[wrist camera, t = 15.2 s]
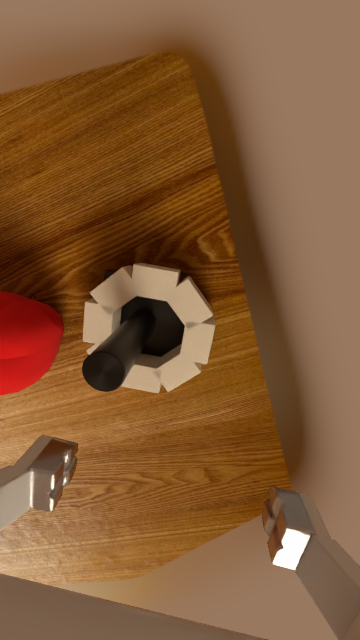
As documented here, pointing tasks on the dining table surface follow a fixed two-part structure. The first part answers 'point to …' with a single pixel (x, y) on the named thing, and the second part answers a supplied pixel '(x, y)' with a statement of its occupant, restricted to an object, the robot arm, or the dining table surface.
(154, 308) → the post
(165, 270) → the ring
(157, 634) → the robot arm
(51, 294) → the dining table surface
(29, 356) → the tomato
